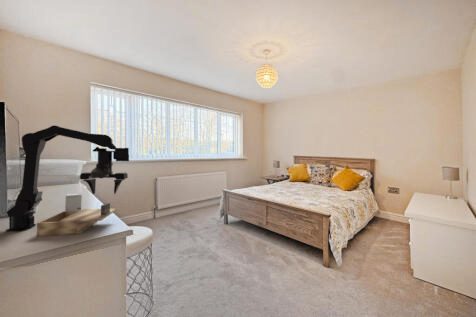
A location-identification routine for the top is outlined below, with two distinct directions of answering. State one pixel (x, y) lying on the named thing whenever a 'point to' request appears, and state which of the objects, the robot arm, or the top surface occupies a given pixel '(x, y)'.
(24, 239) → the top surface
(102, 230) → the top surface
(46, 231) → the brown piece
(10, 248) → the top surface
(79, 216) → the lid
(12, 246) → the top surface
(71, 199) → the skincare box
